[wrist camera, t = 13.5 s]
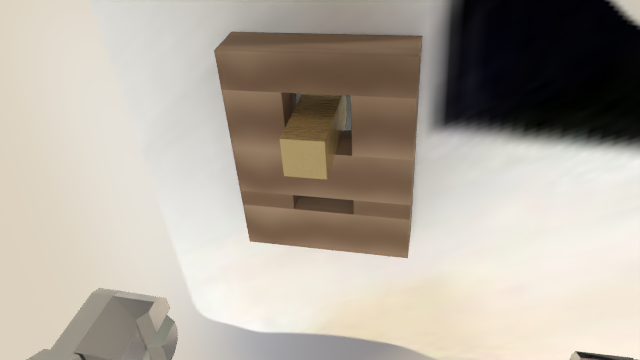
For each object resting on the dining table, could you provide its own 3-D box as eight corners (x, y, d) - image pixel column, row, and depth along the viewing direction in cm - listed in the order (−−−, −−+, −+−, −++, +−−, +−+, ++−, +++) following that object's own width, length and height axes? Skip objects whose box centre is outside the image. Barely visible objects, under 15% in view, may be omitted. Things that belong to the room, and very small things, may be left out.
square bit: (307, 83, 40) (279, 138, 34) (345, 85, 40) (324, 141, 34) (310, 118, 42) (283, 176, 36) (346, 120, 42) (326, 179, 35)
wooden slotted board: (231, 31, 39) (214, 50, 36) (422, 36, 36) (418, 56, 34) (261, 216, 50) (249, 241, 47) (410, 230, 47) (407, 258, 44)
